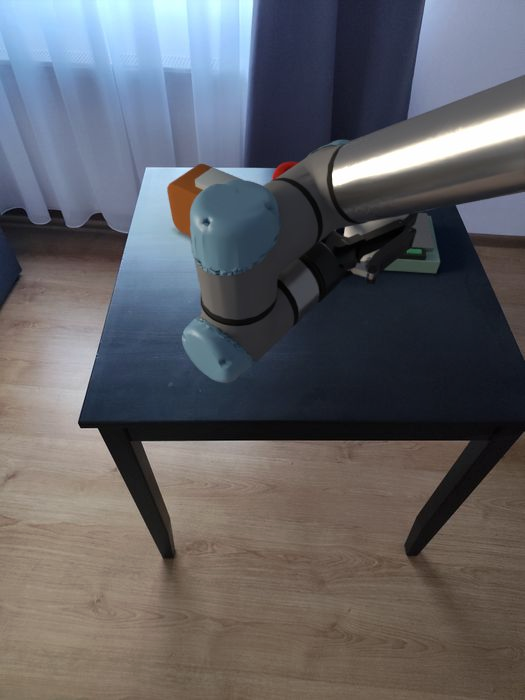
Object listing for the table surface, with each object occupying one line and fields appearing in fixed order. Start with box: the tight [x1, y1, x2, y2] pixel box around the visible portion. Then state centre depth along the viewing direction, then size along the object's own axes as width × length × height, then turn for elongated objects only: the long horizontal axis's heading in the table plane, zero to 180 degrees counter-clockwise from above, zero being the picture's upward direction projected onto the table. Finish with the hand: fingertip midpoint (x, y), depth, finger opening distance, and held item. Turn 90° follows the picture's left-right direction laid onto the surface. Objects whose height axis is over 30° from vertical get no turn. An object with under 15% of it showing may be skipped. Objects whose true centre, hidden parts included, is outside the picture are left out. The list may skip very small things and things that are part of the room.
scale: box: [359, 215, 441, 274], centre depth 85 cm, size 13×13×4 cm
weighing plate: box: [410, 212, 434, 251], centre depth 85 cm, size 10×11×1 cm
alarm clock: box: [166, 163, 244, 237], centre depth 83 cm, size 24×8×11 cm, turn 54°
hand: (397, 192), depth 66 cm, fingers closed on beverage can, 6 cm apart
